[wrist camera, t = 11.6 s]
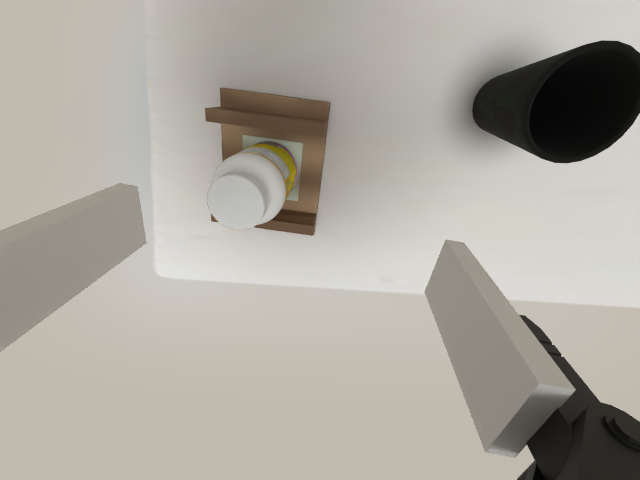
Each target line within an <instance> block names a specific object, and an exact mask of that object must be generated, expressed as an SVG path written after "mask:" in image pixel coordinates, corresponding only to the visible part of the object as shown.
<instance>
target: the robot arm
mask: <svg viewBox="0 0 640 480" xmlns="http://www.w3.org/2000/svg"><path fill="white" fill-rule="evenodd" d="M144 244H146V237H145V231H144V226H143V218H142V212H141V206H140V200H139V193H138V187H137V186H133V185H127V184H121V183H120V184H117V185H114V186H111V187H109V188H106V189H104V190H101V191H99V192H97V193H94V194H91V195H89V196H87V197H84V198H81V199H79V200H76V201H74V202H71V203H69V204H66V205H64V206H61V207H59V208H56V209H54V210H51V211H49V212H46V213H44V214H41V215H39V216H36V217H33V218H31V219H29V220H26V221H23V222H21V223H19V224H16V225H13V226H11V227H9V228H6V229H3V230H1V231H0V352H1V351H2V350H3V349H4V348H6V347H7V346H9V345H10V344H11V343H13V342H14V341H15V340H17V339H18V338H19V337H21V336H22V335H23V334H25V333H26V332H27V331H29V330H30V329H31V328H33V327H34V326H36V325H37V324H38V323H39V322H41V321H42V320H44V319H45V318H46V317H48V316H49V315H50V314H52V313H53V312H54V311H56V310H57V309H58V308H60V307H61V306H62V305H64V304H65V303H66V302H68V301H69V300H70V299H72V298H73V297H75V296H76V295H77V294H79V293H80V292H81V291H83V290H84V289H85V288H87V287H88V286H89V285H91V284H92V283H93V282H95V281H96V280H97V279H98V278H100V277H101V276H103V275H104V274H105V273H107V272H108V271H109V270H111V269H112V268H113V267H115V266H116V265H118V264H119V263H120V262H122V261H123V260H124V259H125V258H127V257H128V256H130V255H131V254H132V253H134V252H135V251H136V250H138V249H139V248H140V247H142V246H143V245H144ZM425 294H426V297H427V299H428V302H429V304H430V307H431V310H432V313H433V315H434V318H435V320H436V323H437V326H438V328H439V331H440V334H441V336H442V339H443V341H444V344H445V347H446V349H447V352H448V355H449V358H450V360H451V363H452V366H453V368H454V371H455V373H456V376H457V379H458V381H459V384H460V387H461V389H462V392H463V395H464V397H465V400H466V403H467V405H468V408H469V410H470V413H471V416H472V418H473V421H474V424H475V426H476V429H477V432H478V434H479V437H480V440H481V442H482V445H483V448H484V450H485V452H487V453H492V454H498V455H504V456H509V457H514V458H515V457H516V456H517V455H518V454H519V453H520V452H521V450H522V449H523V448H524V447H525V446H526V445H528V447H529V449H530V451H531V453H532V455H533V457H534V459H535V461H534V462H533V463H532V464H531V465H530V466H529V467H528V468H527V469H526V470H525V471H524V472H523V473H522V474H521V475H520V477H518V479H517V480H640V422H639V421H637V420H636V419H634V418H633V417H632V416H630V415H629V414H627V413H626V412H624V411H622V410H620V409H618V408H616V407H613V406H612V405H608V404H604V403H601V402H600V401H599V400H598V399H597V398H596V396H595V395H594V394H593V393H592V391H591V390H590V389H589V388H588V386H587V385H586V384H585V383H584V382H583V380H582V379H581V378H580V377H579V375H578V374H577V373H576V372H575V371H574V369H573V368H572V367H571V365H570V364H569V363H568V362H567V361H566V359H565V358H564V357H561V353H560V352H559V351H558V349H557V348H556V347H555V346H554V345H552V342H551V341H550V339H549V338H548V337H547V336H546V335H545V333H544V332H543V331H542V330H541V329H540V328H539V327H538V326H537V325H535V324H534V323H533V322H532V321H531V320H529V319H528V318H527V317H526V316H523V315H519V314H518V313H517V312H516V311H515V309H514V308H513V307H512V305H511V304H510V303H509V301H508V300H507V299H506V297H505V296H504V295H503V293H502V292H501V291H500V290H499V288H498V287H497V286H496V284H495V283H494V282H493V280H492V279H491V278H490V276H489V275H488V274H487V272H486V271H485V270H484V268H483V267H482V266H481V265H480V263H479V262H478V261H477V259H476V258H475V257H474V255H473V254H472V253H471V251H470V250H469V249H468V247H467V246H466V245H465V244H464V243H463V242H457V241H451V240H445V242H444V245H443V247H442V250H441V252H440V255H439V257H438V260H437V262H436V265H435V267H434V270H433V272H432V275H431V277H430V280H429V282H428V285H427V287H426V290H425Z"/></svg>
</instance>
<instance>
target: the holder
mask: <svg viewBox="0 0 640 480" xmlns="http://www.w3.org/2000/svg"><path fill="white" fill-rule="evenodd" d="M220 96H221V107H214V108H205V114H206V121H209V122H216V123H221V126H222V156H223V161H224V160H225V159H227V158H229V157H231V156H232V155H235V154H237V153H239V152H241V151H243V150H245V149H247V148H248V147H250V146H252V145H254V144H257V143H259V142H264V141H271V142H276V143H279V144H281V145H283V146H284V147H285V148H287V149H288V150H289V151H290V152H291V154H292V155H293V156H294V158H295V161H296V163H297V168H298V175H297V180H296V183H295V185H294V187H293V189H292V191H291V192H290V194H289V196H288V198H287V199H286V201H285V203H284V205H283V207H282V208H281V210H280V211H279V213H278V214H277V215H276V216H275V217H274V218H273V219H271V220H270V221H268V222H266V223H263V224H259V225H255V226H254V227H256V228H263V229H270V230H277V231H284V232H291V233H298V234H305V235H314V232H315V224H316V216H317V208H318V200H319V191H320V183H321V175H322V167H323V159H324V151H325V143H326V134H327V126H328V118H329V110H330V102H323V101H315V100H308V99H301V98H293V97H286V96H278V95H271V94H263V93H256V92H248V91H241V90H234V89H226V88H220ZM211 221H213V222H218V221H217V220H216V219H215V218H214V216H213V215H212V214H211Z"/></svg>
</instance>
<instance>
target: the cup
mask: <svg viewBox="0 0 640 480" xmlns="http://www.w3.org/2000/svg"><path fill="white" fill-rule="evenodd" d="M639 113H640V53H639V52H638V51H636V50H635V49H634V48H633V47H632V46H630V45H627V44H625V43H622V42H619V41H598V42H594V43H590V44H586V45H583V46H580V47H577V48H574V49H572V50H569V51H566V52H563V53H561V54H558V55H555V56H552V57H550V58H547V59H544V60H541V61H538V62H536V63H533V64H530V65H527V66H525V67H522V68H519V69H516V70H513V71H511V72H508V73H505V74H502V75H500V76H497V77H495V78H493V79H491V80H490V81H488V82H487V83H486V84H485V85H484V86H483V87H482V88H481V89H480V90H479V92H478V94H477V95H476V98H475V100H474V103H473V117H474V120H475V122H476V124H477V125H478V126H479V127H480V128H482V129H483V130H485V131H487V132H489V133H491V134H493V135H495V136H497V137H499V138H501V139H503V140H505V141H507V142H509V143H511V144H513V145H515V146H518V147H520V148H522V149H524V150H526V151H528V152H530V153H532V154H534V155H536V156H538V157H540V158H542V159H545V160H548V161H551V162H554V163H571V162H577V161H582V160H584V159H587V158H590V157H592V156H595V155H597V154H598V153H600V152H602V151H603V150H605V149H607V148H608V147H610V146H611V145H612V144H613V143H615V142H616V141H617V140H618V139H619V138H621V137H622V136H623V135H624V133H625V132H626V131H627V130H628V129H629V128H630V127H631V125H632V124H633V123H634V121H635V120H636V118H637V116H638V115H639Z"/></svg>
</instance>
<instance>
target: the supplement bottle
mask: <svg viewBox="0 0 640 480" xmlns="http://www.w3.org/2000/svg"><path fill="white" fill-rule="evenodd" d="M297 175H298V168H297V163H296V161H295V158H294V156H293V155H292V154H291V152H290V151H289V150H288V149H287V148H285V147H284V146H283V145H281V144H279V143H276V142H271V141H264V142H259V143H257V144H254V145H252V146H250V147H248V148H247V149H245V150H243V151H241V152H239V153H237V154H235V155H232V156H231V157H229V158H227V159H225V160H224V161H223V162H222V163H221V164H220V165H219V166H218V168H217V169H216V171H215V173H214V176H213V181H212V185H211V186H210V188H209V190H208V194H207V203H208V207H209V210H210V212H211V214H212V215H213V216H214V218H215V219H216V220H217V221H218V222H219V223H221V224H222V225H224V226H225V227H227V228H230V229H233V230H247V229H250V228H252V227H254V226H255V225H259V224H263V223H266V222H268V221H270V220H271V219H273V218H274V217H275V216H276V215H277V214H278V213H279V211H280V210H281V208H282V207H283V205H284V203H285V201H286V199H287V198H288V196H289V194H290V192H291V191H292V189H293V187H294V185H295V183H296V180H297Z"/></svg>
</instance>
